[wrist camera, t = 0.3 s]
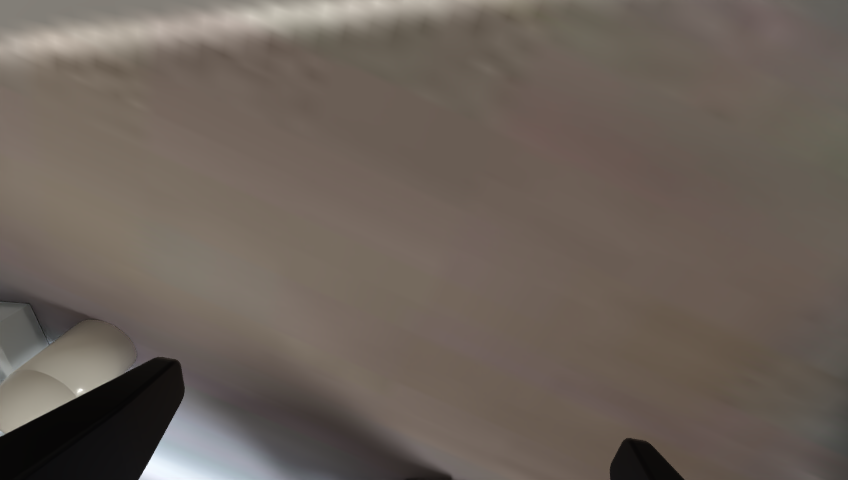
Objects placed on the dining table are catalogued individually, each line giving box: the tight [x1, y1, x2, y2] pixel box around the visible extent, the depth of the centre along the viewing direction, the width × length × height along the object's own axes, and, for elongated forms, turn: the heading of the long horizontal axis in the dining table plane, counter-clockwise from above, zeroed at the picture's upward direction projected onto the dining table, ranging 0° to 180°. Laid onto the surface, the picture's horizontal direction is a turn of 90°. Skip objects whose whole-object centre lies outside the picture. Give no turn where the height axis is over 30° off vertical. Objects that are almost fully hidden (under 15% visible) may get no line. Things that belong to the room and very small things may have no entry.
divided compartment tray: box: [0, 301, 49, 436], centre depth 31 cm, size 21×8×2 cm, turn 178°
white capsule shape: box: [0, 320, 137, 434], centre depth 25 cm, size 4×4×7 cm
